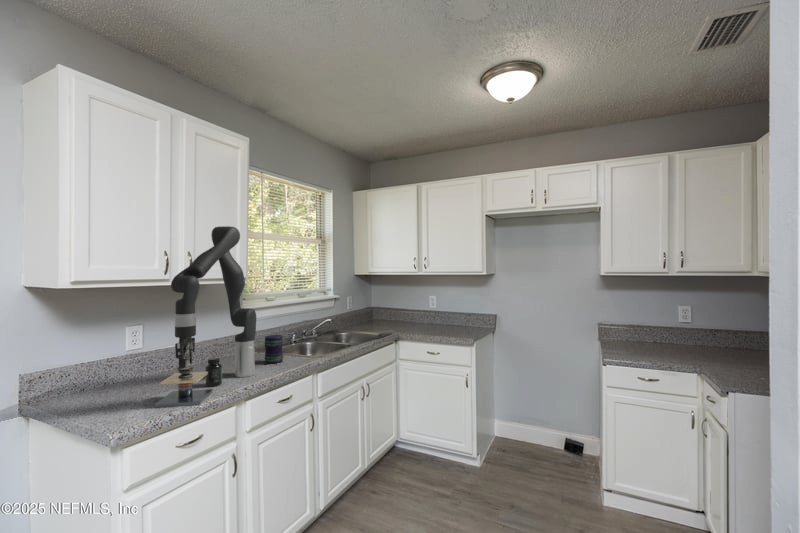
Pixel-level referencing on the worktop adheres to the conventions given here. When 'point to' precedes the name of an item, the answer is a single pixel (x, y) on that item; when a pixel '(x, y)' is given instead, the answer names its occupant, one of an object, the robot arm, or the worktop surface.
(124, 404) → the worktop surface
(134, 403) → the worktop surface
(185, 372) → the stone finial
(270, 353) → the storage jar
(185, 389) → the stand
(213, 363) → the supplement bottle
